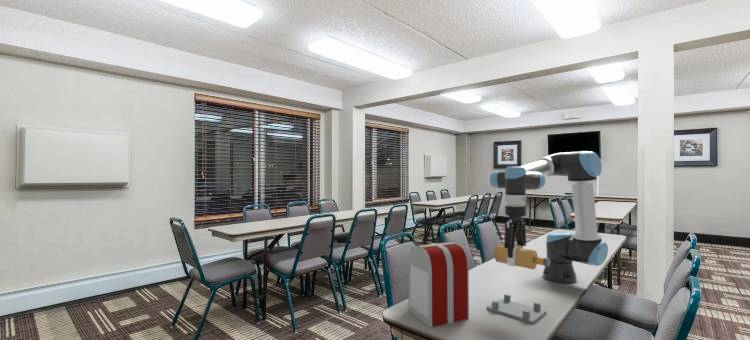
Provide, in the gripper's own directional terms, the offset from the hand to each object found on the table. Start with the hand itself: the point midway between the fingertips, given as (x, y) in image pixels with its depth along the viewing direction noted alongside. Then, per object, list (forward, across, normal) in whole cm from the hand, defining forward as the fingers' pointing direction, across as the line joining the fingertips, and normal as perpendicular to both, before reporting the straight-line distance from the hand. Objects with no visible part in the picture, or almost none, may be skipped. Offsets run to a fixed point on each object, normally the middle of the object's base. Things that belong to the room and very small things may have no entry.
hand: (515, 263), depth 131 cm
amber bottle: (+1, 0, -3) cm, 3 cm away
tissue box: (+19, -24, +20) cm, 37 cm away
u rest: (+19, 0, 0) cm, 19 cm away
